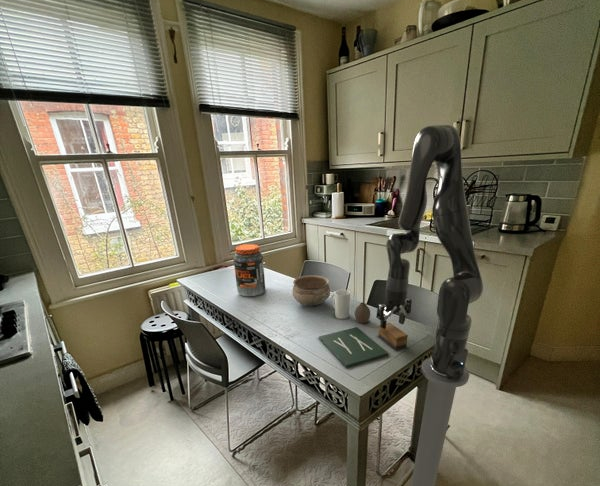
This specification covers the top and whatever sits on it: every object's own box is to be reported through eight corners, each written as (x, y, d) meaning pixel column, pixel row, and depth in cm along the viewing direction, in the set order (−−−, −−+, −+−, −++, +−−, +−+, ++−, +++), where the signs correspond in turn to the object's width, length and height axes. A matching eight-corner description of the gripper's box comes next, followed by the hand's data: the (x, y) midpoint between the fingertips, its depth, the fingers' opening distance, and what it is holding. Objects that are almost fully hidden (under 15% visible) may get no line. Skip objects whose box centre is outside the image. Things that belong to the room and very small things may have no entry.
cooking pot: (281, 301, 164) (280, 279, 159) (309, 292, 175) (308, 271, 170) (313, 318, 146) (313, 293, 141) (342, 306, 157) (342, 283, 152)
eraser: (406, 347, 122) (407, 334, 119) (395, 350, 120) (397, 337, 118) (388, 334, 131) (389, 322, 129) (378, 336, 129) (379, 325, 127)
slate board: (388, 355, 117) (388, 352, 117) (346, 367, 111) (346, 365, 111) (356, 329, 136) (356, 326, 135) (318, 338, 130) (318, 336, 129)
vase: (353, 323, 140) (353, 305, 136) (355, 316, 146) (356, 299, 142) (368, 325, 138) (370, 307, 134) (370, 318, 144) (372, 301, 140)
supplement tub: (232, 295, 173) (226, 249, 163) (245, 285, 187) (240, 242, 176) (258, 298, 169) (254, 251, 158) (270, 288, 182) (266, 243, 171)
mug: (352, 316, 147) (353, 292, 142) (342, 320, 143) (343, 296, 138) (336, 309, 154) (336, 286, 149) (326, 313, 150) (326, 290, 145)
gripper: (387, 294, 110) (383, 334, 117) (419, 287, 115) (413, 326, 122) (374, 287, 116) (371, 325, 123) (405, 280, 121) (400, 317, 128)
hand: (392, 325), depth 123 cm, fingers open, 8 cm apart
